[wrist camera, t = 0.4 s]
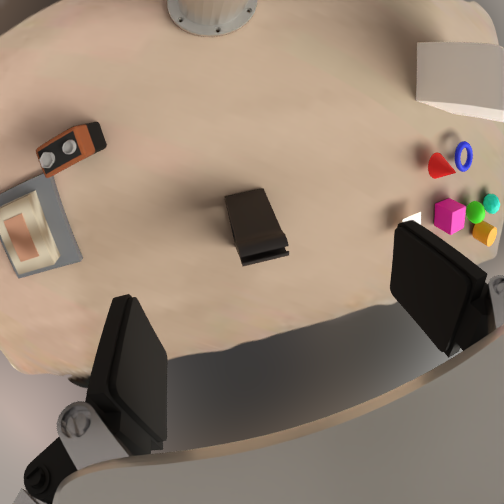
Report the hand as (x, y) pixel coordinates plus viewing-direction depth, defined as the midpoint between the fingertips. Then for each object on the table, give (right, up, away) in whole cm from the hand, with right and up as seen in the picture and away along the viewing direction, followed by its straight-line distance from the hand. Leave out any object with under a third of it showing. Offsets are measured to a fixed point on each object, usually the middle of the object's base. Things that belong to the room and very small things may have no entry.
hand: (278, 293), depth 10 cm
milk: (+34, +34, +29) cm, 56 cm away
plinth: (-38, +5, +28) cm, 48 cm away
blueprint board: (-38, +6, +29) cm, 48 cm away
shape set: (+43, +12, +43) cm, 62 cm away
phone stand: (-1, +7, +36) cm, 37 cm away
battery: (-25, +17, +26) cm, 40 cm away
